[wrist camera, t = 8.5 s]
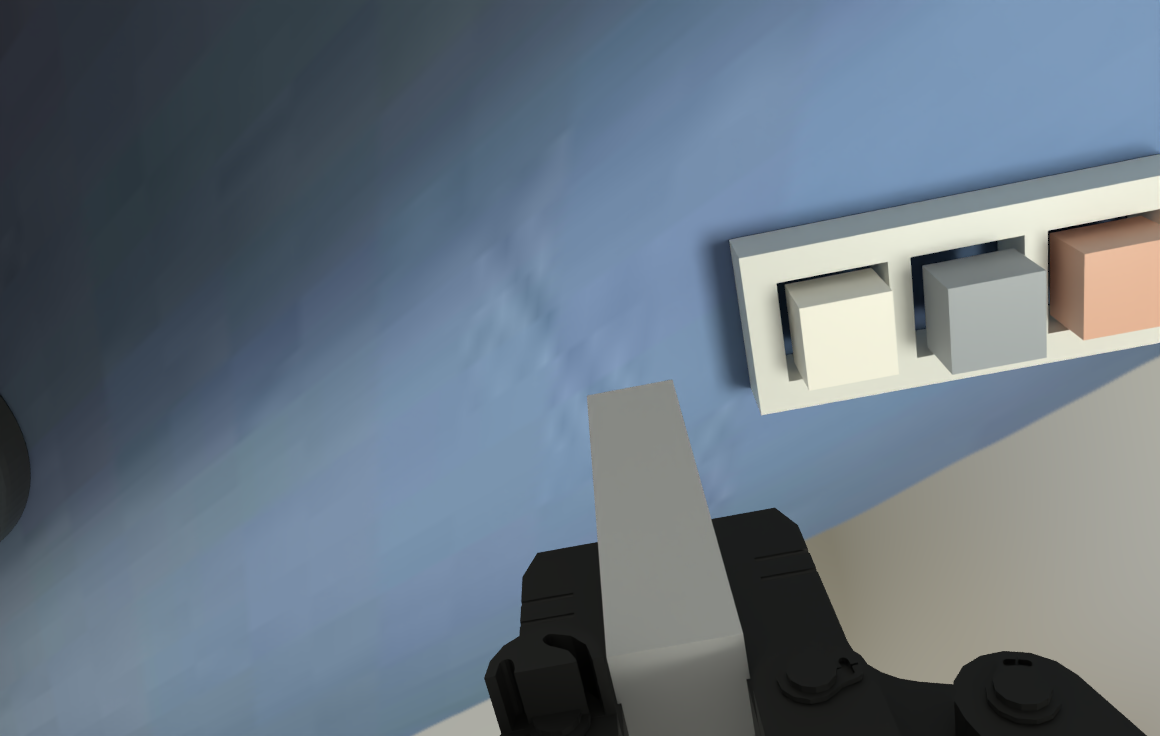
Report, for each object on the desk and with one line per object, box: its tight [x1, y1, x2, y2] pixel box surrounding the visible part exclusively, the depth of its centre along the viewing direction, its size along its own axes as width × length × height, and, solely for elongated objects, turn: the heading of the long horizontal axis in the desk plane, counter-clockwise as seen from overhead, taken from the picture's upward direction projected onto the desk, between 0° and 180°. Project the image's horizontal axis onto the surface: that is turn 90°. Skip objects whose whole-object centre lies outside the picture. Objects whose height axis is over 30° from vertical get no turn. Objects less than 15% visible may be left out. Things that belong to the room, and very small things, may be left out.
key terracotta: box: [1050, 216, 1160, 340], centre depth 41 cm, size 4×4×3 cm
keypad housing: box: [729, 154, 1160, 415], centre depth 44 cm, size 20×8×3 cm, turn 102°
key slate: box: [922, 248, 1047, 375], centre depth 41 cm, size 4×4×3 cm
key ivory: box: [785, 268, 899, 391], centre depth 42 cm, size 4×4×3 cm
